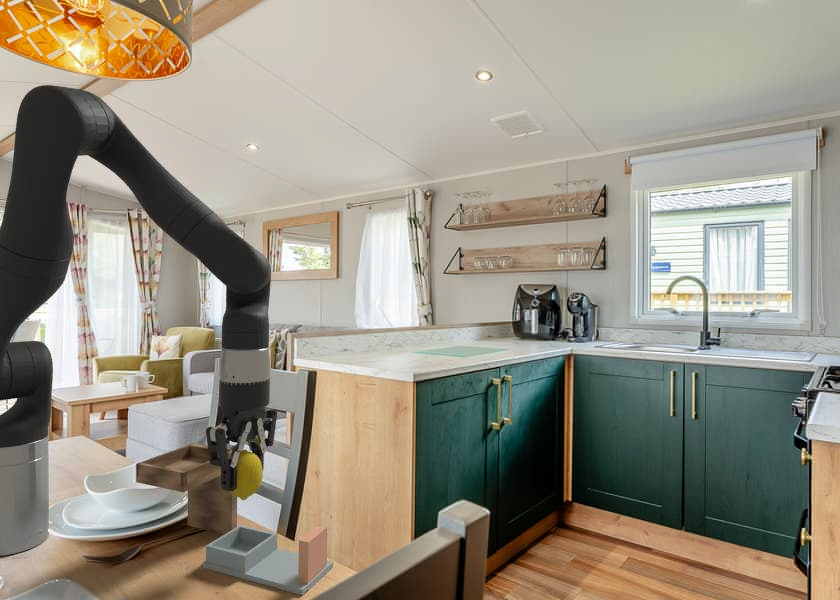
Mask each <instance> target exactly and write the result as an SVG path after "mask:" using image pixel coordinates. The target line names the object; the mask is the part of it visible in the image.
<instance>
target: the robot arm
mask: <svg viewBox="0 0 840 600" xmlns="http://www.w3.org/2000/svg"><path fill="white" fill-rule="evenodd" d="M14 135H15V136H14V147H13V155H12V156H13V158H12V169H11V174H10V175H11V176H10V180H9V186H8V190H7V196H6V201H5V206H4V209H3V210H4V211H3V217H2V221H1V224H0V401H1V402H2V401H8V400H14V399H16V401H15V403H14V404H13V405H12V406H11V407H10V408H8V409H7V410H6V411H5V412H3V413H1V414H0V557H1V556H7V555H8V556H9V555H12V554H17V553H21V552H24V551H26V550H29V549H33V548H35V547H37V546H38V545H41V544H42V543H44V542H45V541H46V540H48V538H49V535H50V531H49V532H48V529H49V530H50V507H49V506H50V485H49V484H50V483H49V480H50V479H49V477H50V474H49V471H50V470H49V468H50V467H49V465H50V464H49V463H50V461H49V460H50V459H49V455H50V454H49V426H50V421H51V417H52V416H51V415H52V397H53V396H52V392H53V381H54V380H53V379H54V366H53V365H54V363H53V358H52V353H51V351H50V349H49V347H48V346H47V345H46V344H45V343H44V342H42V341H40V340H24V341H12V338H13V337H14V335H15V333H16V332H17V330H18V329H19V327H21V325H22V324H23V322H25V321H26V320H27V319H28V318H29V317H30V316H31V315H32V314H33V313H35V312H36V311H37V310H39V309H40V308H41V306H43V305H44V304H45V303H46V302H48V301H49V300H50V299H51V298H52V297H53V296H54V295H55V294H56V292H58V290H59V289H60V288H61V286H62V285H63V284H64V282H65V280H66V277H67V274H68V271H69V267H70V263H71V259H72V255H73V252H74V246H75V235H74V234H75V233H74V229H73V225H72V224H73V223H72V220H71V217H70V214H69V209H68V205H67V203H68V202H67V193H68V187H69V183H70V180H71V176H72V172H73V170H74V167H75V165H76V162H77V159H78V157H83V156H84V157H85V156H89V157H90V158H91V159H93V160H95V161H97V162H98V163H99V164H100V165H102V166H104V167H106V168H107V169H109V171H111V172H113V173H114V174H115V175H116V176H117V177H118V178H119V179H120V180H121V181H122V182H123V183H124V184H125V186H126V187H127V188H129V189H130V192H131V193H132V194H133V195H134V197H135V199H137V200H136V201H138V203H139V205H140V206H141V207H142V209H143V210H144V212H145V213H146V215H147V216H148V217H149V218H150V220H152V222H153V223H155V225H156V226H157V227H159V228H160V229H161V230H162V232H164V233H165V234H167V235H168V236H169V237H170V238H171V239H173V241H175V242H176V243H177V244H178V245H179V246H181V247H182V248H183V249H184V250H185V251H187V252H189V253H190V254H192V255H193V256H194V257H195V258H197V259H198V260H199V262H201V264H202V265H203V266H204V267H206V269H207V270H208V271H209V272H210V273H211V274H212V275H213V276H214V277H216V278H217V280H218V281H220V282H221V283H222V284H223V285H224V286H225V312H224V314H223V316H222V321H221V348H220V349H221V350H220V358H219V369H218V370H219V372H218V373H219V375H218V378H219V379H218V406H219V407H220V408H221V410H222V412H223V415H222V418H221V421H220V423H219V424H218V425H217V426H215V427H214V426H208V427H207V428H206V429H205V434H206V435H205V436H206V443H207V445H206V446H208V452H209V460H210V464H211V465H216V466H220V467H221V487H222V488H223V490H226V491H231V492H232V491H234V490H236V488H237V466H236V464H237V461H238V457H239V454H240V452H242V451H243V450H245V449H244V448H245V445H246V443H247V444H248V448H249V450H250V451H249V452H252V453H254V454H255V455H256V456H257V457H258V458H259V459H260V461H261V465H262V470H263V471H264V467H265V465H264V463H265V460H264V459H265V454H266V452H267V448H268V447H272V446H273V445H274V442H275V441H274V440H275V434H276V428H277V427H276V425H277V418H278V410H277V409H272V408H266V407H268V406H269V405H270V402H271V401H270V396H271V395H270V391H271V389H270V388H271V387H270V385H271V358H270V348H269V347H270V319H269V305H270V297H271V284H272V283H271V282H272V267H271V264H270V262H269V260H268V257H267V256H266V255H264V254H263V253H262V252H261V251H259V250H258V249H257V248H255V247H254V246H252V245H251V244H250V242H247V240H245V239H244V238H243V237H241V236H240V235H239V234H238V233H236V232H235V231H234V230H232V229H231V228H230V227H229V226H228V225H227V224H226V223H225V221H224V220H223V219H222V218H221V217H220V216H219V215H218V214H217V213H216V212H214V211H213V210H212V209H211V208H210V207H208V205H207V204H206V203H204V202H203V201H202V200H201V199H200V198H199V197H197V196H196V195H195V194H193V192H192V191H190V190H189V188H187V187H186V186H185V185H183V184H182V183H181V182H180V181H179V180H178V179H177V178H176V177H175V176H174V175H173V174H172V173H170V172H169V171H168V170H167V169H166V168H165V167H164V166H163V165H162V164H161V163H160V162H159V161H158V160H157V159H156V158H155V157H154V155H153V154H152V153H151V152H150V151H149V150H148V149H147V147H145V146H144V145H143V143H141V141H140V140H139V139H138V138H137V137H136V136H135V135H134V134H133V132H132V131H131V130H130V129H129V127H128V126H127V125H126V124H125V123H124V121H123V120H122V119H121V118H120V117H119V116H118V114H116V112H115V111H114V110H113V109H112V108H111V106H110V105H108V104H107V103H106V102H105V100H103V99H102V98H101V97H100V96H98V95H96V94H94V93H93V92H90V91H88V90H84V89H80V88H75V87H68V86H67V87H66V86H59V85H55V84H54V85H52V84H44V85H39V86H35V87H33V88H32V89H30V90H29V91H28V92H27V93H26V94H25V95H24V97H23V98H22V99H21V102H20V104H19V108H18V110H17V117H16V122H15V133H14ZM266 432H267V437H266ZM230 442H232V443H235V444H234V445H233V444H231V443H230ZM230 450H232V454H231V458H228V454H229V451H230ZM217 452H218V453H219V457H218V454H217Z"/></svg>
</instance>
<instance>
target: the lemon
mask: <svg viewBox="0 0 840 600" xmlns="http://www.w3.org/2000/svg"><path fill="white" fill-rule="evenodd" d="M236 466H237V488H236V490H234V491H232V492H231V491H229V492H230V493H231V494H232V495H234V496H236V497H237V498H239V499H240V500H242V501H246V500H247V499H248V498H249V497H250V496H253V495H254V494H255V493H257V492H258V490H259V489H260V487H261V484H262V482H263V478H264V477H263V476H264V474H263V473H264V469H263V470H262V465H261V461H260V459H259V458H258V457H257V456H256V455H255V454H254V453H252V451H249V450H247V449H243V451H242V452H240V454H239V457H238V461H237V464H236Z"/></svg>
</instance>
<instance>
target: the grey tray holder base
mask: <svg viewBox="0 0 840 600" xmlns="http://www.w3.org/2000/svg"><path fill="white" fill-rule="evenodd" d="M327 559H328V526H327V527H326V526H322V525H317V526H316V527H314V528H312V530H310V531H308V533H306V534H305V535H303V537H301V538H299V540H298V552H295V551H291V550H287V549H282V548H278V533H275V532H270V531H267V530H262V529H258V528H254V527H249V526H246V525H237V527H236V528H234V529H233V530H231V531H230V532H228V533H226V534H222V535H221V536H220V537H218V538H216V539H215V540H213V541H211V542H210V543H209V544H208V543H207V544H206V545H205V561H204V562H202V564H203V569H207V570H210V571H215V572H217V573H221V574H225V575H229V576H232V577H235V578H239V579H242V580H247V581H250V582H254V583H256V584H261V585H264V586H268V587H271V588H274V587H275V589H278V590H281V591H285V590H286V592H289V593H293V594H296V595H299V594H302V595H301V596H304V595H305V594H306V593H307V592H308V591H309V590H310V589H312V587H314V584H315V585H316V584H317V583H318V582H319V581H320V580H321V579H322V578H323V577H324V576H325V575H326V574H328V573H329V571H330V570H332V569H333V568H334V561H331V560H327ZM307 590H308V591H307ZM306 591H307V592H306ZM305 592H306V593H305ZM304 593H305V594H304ZM303 594H304V595H303Z"/></svg>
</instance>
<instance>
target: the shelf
mask: <svg viewBox="0 0 840 600" xmlns="http://www.w3.org/2000/svg"><path fill="white" fill-rule="evenodd" d="M217 454H218V457H219V453H218V452H217ZM231 454H232V450H230V451H229V454H228V458H231ZM135 483H138V484H142V485H148V486H153V487H157V488H160V489H167V490H170V491H176V492H179V493H185V492H187V526H188V527H193V528H197V529H201V530H205V531H210V532H213V533H217V534H221V535H225V534H226V533H228V532H230V531H231V530H233V529H234V528H236V527H238V497H236V496H234V495H232V494H231V493H230V492H229V491H226V490H223V488H222V487H221V467H220V466H216V465H211V464H210V460H209V452H208V445H204V444H200V443H190V444H188V445H185V446H182V447H179V448H176V449H173V450H170V451H168V452H165V453H163V454H162V453H161V454H159V455H156V456H154V457H151V458H148V459H145V460H142V461H140V462H136V464H135Z"/></svg>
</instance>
